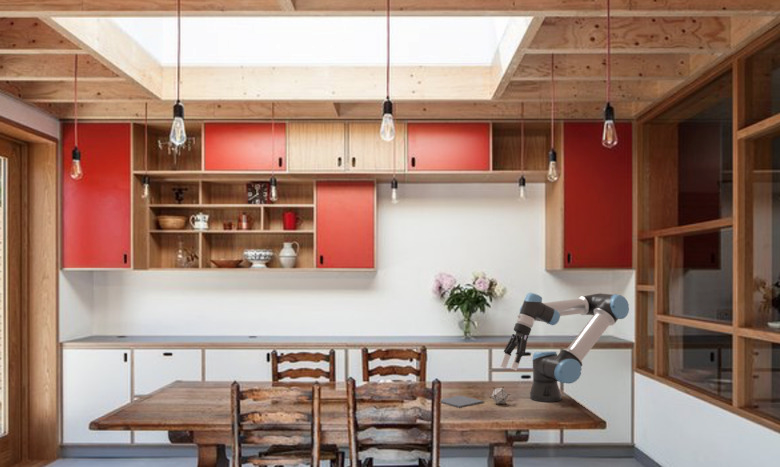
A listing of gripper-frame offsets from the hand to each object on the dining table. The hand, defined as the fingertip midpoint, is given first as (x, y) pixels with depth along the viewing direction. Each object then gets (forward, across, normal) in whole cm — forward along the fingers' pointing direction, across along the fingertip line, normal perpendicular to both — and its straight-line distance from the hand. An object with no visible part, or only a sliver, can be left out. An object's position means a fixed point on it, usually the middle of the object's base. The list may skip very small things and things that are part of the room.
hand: (508, 368), depth 288 cm
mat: (+22, -23, -8) cm, 33 cm away
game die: (+16, -15, +8) cm, 24 cm away
